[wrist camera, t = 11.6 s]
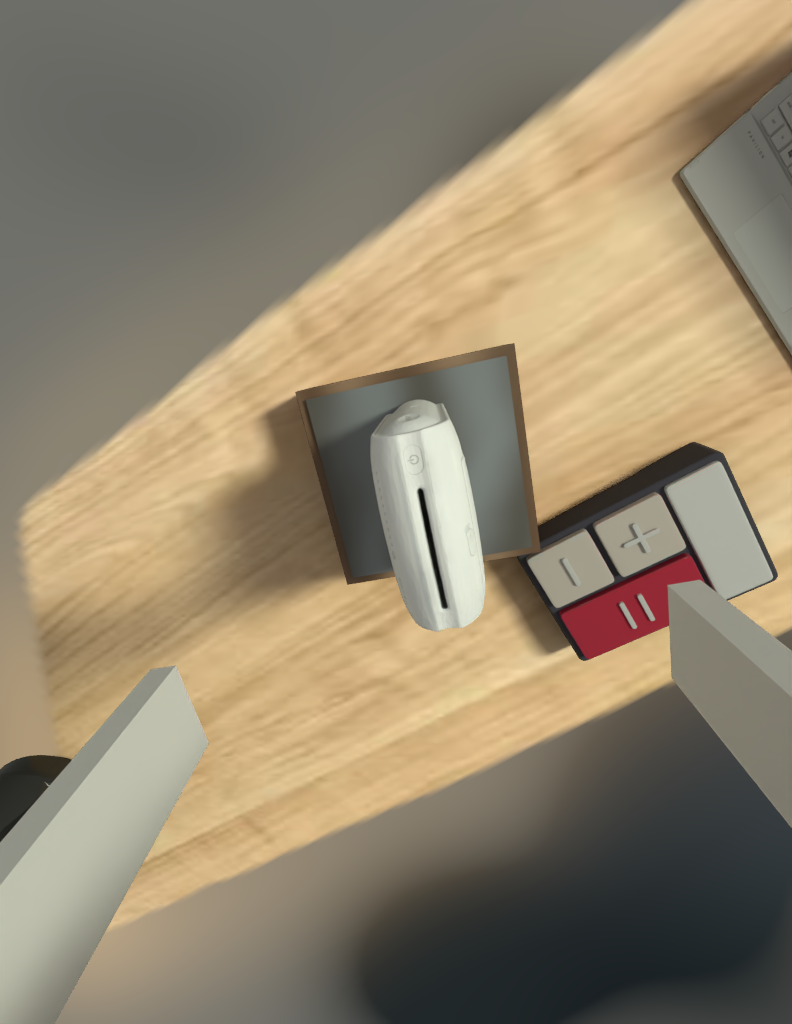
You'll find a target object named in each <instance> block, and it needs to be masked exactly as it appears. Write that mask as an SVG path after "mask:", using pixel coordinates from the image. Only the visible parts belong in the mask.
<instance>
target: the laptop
mask: <svg viewBox="0 0 792 1024" xmlns="http://www.w3.org/2000/svg"><path fill="white" fill-rule="evenodd" d="M680 177H681V179H682V180H683V182H684V184H685V185H686V187H687V188H688V190H689V192H690V193H691V195H692V196H693V198H694V200H695V201H696V203H697V204H698V206H699V208H700V209H701V211H702V212H703V214H704V216H705V217H706V219H707V221H708V222H709V224H710V225H711V227H712V229H713V230H714V232H715V233H716V235H717V237H718V238H719V240H720V241H721V243H722V245H723V246H724V248H725V249H726V251H727V253H728V254H729V256H730V257H731V259H732V261H733V262H734V264H735V265H736V267H737V269H738V270H739V272H740V273H741V275H742V277H743V278H744V280H745V281H746V283H747V285H748V286H749V288H750V290H751V291H752V293H753V294H754V296H755V298H756V299H757V301H758V302H759V304H760V306H761V307H762V309H763V310H764V312H765V314H766V315H767V317H768V318H769V320H770V322H771V323H772V325H773V326H774V328H775V330H776V331H777V333H778V334H779V336H780V338H781V339H782V341H783V342H784V344H785V346H786V347H787V349H788V350H789V352H790V354H791V355H792V71H791V72H790V73H789V74H788V75H787V76H786V77H785V78H783V79H782V80H781V81H780V82H779V83H778V84H777V85H776V86H775V87H773V88H772V89H771V90H770V91H769V92H768V93H766V94H765V95H764V96H763V97H762V98H761V99H760V100H759V101H758V102H757V103H756V104H754V105H753V106H752V107H751V108H750V109H749V110H748V111H747V112H746V113H744V114H743V115H742V116H741V117H740V118H739V119H738V120H737V121H735V122H734V123H733V124H732V125H731V126H730V127H729V128H728V129H727V130H725V131H724V132H723V133H722V134H721V135H720V136H719V137H718V138H717V139H715V140H714V141H713V142H712V143H711V144H710V145H709V146H708V147H706V148H705V149H704V150H703V151H702V152H701V153H700V154H699V155H698V156H696V157H695V158H694V159H693V160H692V161H691V162H690V163H689V164H688V165H686V166H685V167H684V168H683V169H682V170H681V171H680Z"/></svg>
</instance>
